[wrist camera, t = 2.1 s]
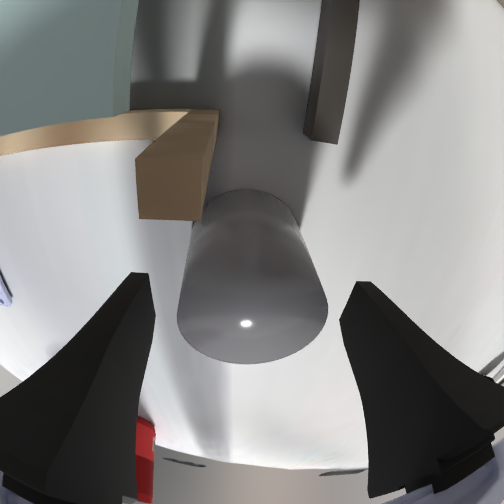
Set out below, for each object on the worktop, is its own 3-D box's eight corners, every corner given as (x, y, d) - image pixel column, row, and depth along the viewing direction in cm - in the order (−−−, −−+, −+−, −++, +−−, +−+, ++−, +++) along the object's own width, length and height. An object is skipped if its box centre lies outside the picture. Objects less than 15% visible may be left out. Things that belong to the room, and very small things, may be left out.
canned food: (125, 406, 23) (115, 502, 14) (169, 431, 28) (167, 510, 19) (82, 407, 24) (68, 487, 15) (125, 432, 29) (118, 502, 20)
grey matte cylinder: (192, 276, 14) (182, 362, 10) (192, 186, 11) (170, 259, 7) (287, 280, 14) (307, 362, 10) (306, 194, 12) (348, 267, 8)
